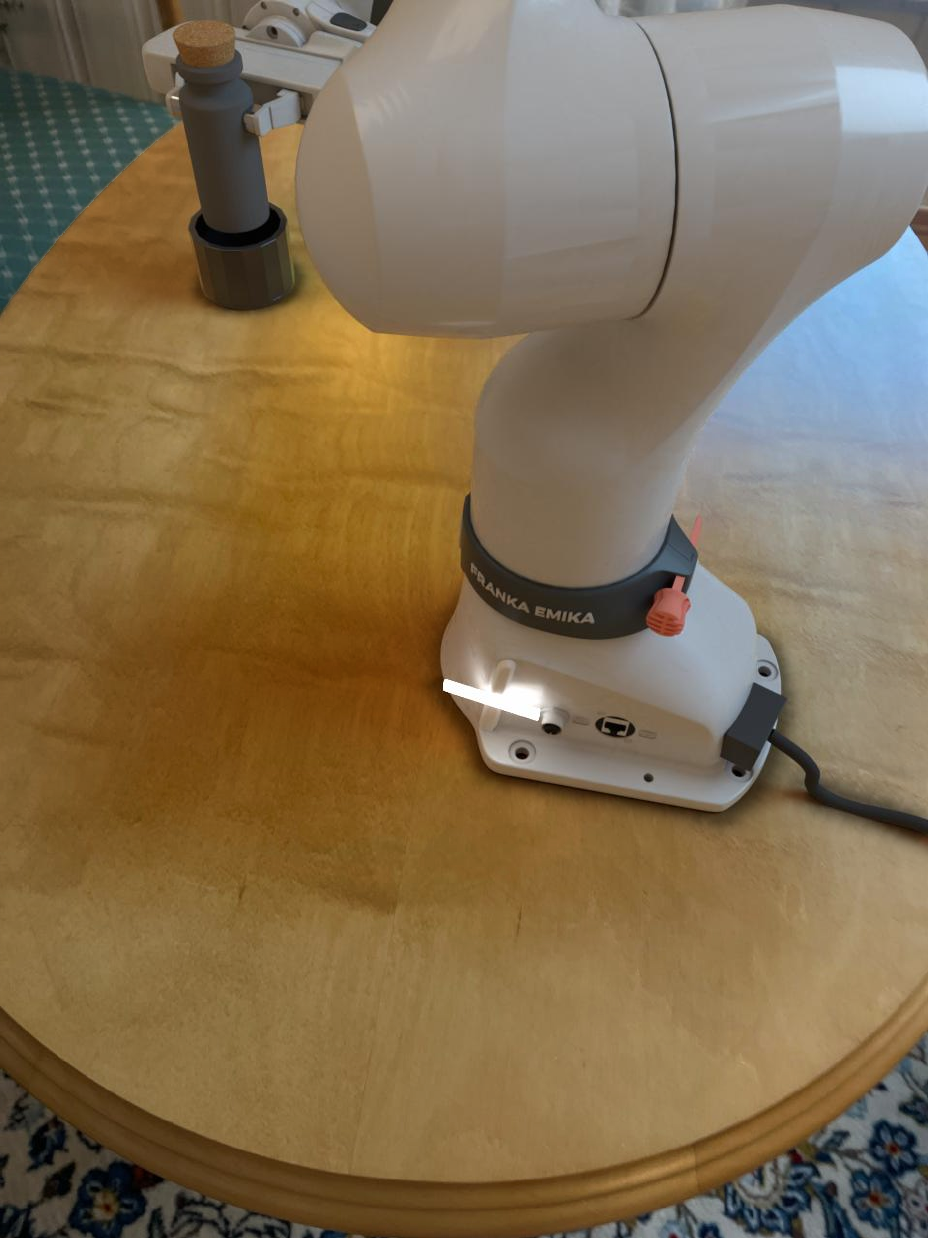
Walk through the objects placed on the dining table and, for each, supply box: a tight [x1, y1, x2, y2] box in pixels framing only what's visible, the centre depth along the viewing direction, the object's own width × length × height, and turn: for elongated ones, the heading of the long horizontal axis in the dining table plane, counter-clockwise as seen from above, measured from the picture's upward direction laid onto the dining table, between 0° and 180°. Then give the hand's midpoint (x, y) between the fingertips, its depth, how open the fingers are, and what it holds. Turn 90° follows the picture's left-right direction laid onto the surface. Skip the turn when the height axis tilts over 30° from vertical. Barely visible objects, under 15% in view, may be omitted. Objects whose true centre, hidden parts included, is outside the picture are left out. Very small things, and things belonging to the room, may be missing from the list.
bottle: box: [173, 19, 269, 233], centre depth 80 cm, size 6×6×15 cm
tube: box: [187, 201, 296, 311], centre depth 89 cm, size 9×9×6 cm
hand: (213, 117), depth 78 cm, fingers closed on bottle, 6 cm apart
